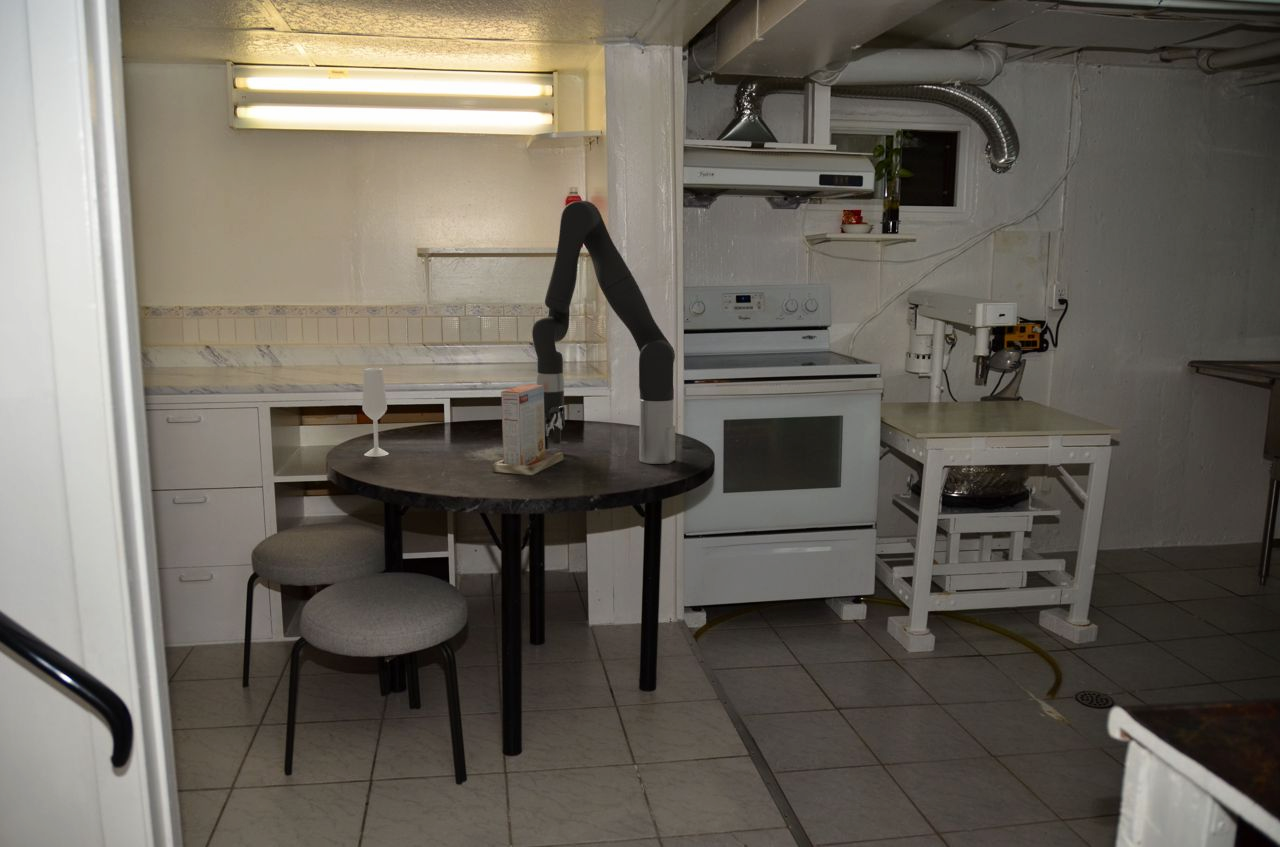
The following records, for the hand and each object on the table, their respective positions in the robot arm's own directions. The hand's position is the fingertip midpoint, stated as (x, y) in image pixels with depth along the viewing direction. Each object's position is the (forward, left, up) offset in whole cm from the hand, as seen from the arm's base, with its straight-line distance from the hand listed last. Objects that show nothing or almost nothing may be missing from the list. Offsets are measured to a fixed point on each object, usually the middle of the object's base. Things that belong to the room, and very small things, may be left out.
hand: (550, 446), depth 276 cm
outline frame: (0, +15, -3) cm, 15 cm away
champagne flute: (+46, +17, -3) cm, 49 cm away
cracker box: (+2, +14, -3) cm, 14 cm away
